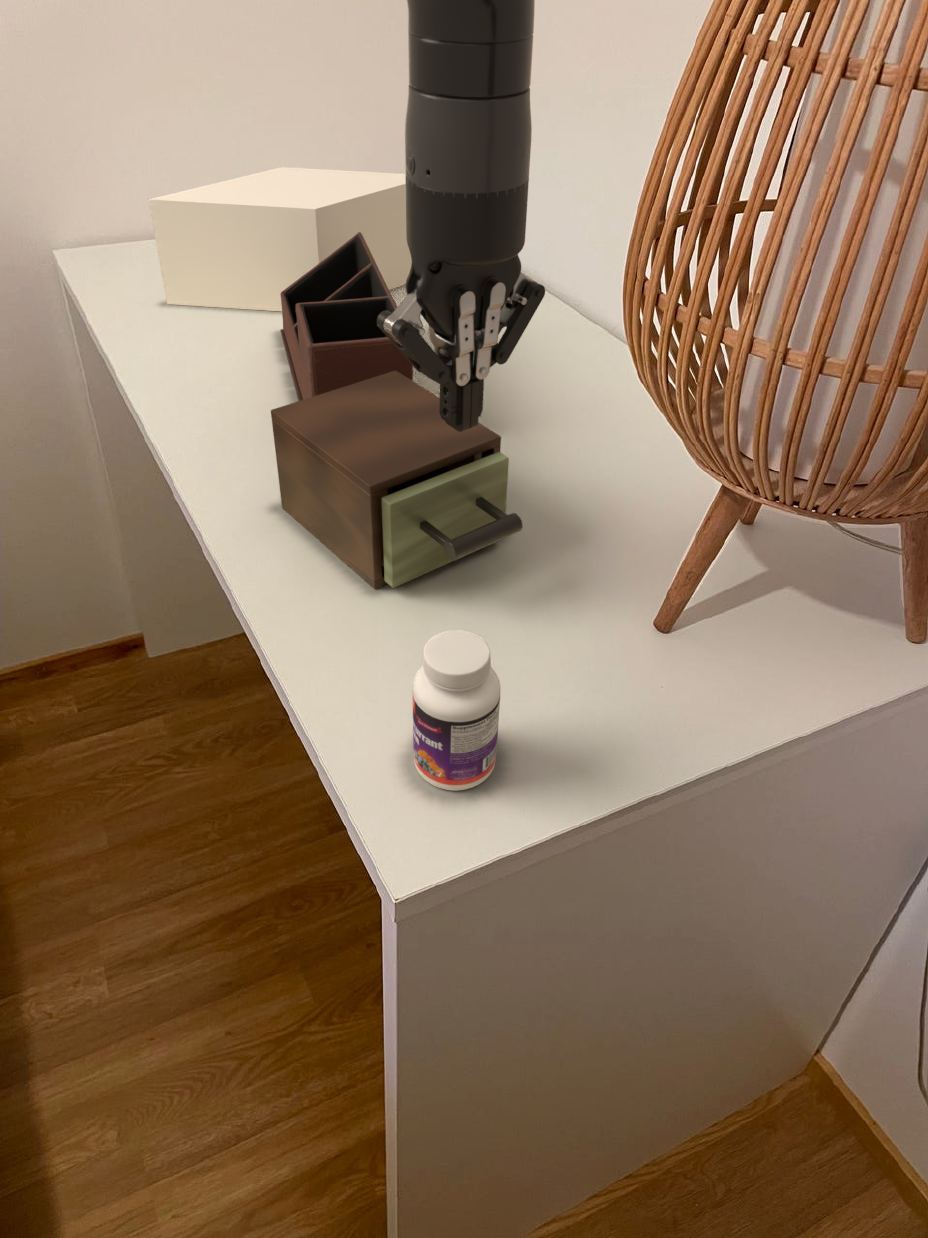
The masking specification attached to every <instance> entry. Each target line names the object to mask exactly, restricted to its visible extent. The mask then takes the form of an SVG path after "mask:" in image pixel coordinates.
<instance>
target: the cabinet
mask: <svg viewBox="0 0 928 1238" xmlns="http://www.w3.org/2000/svg"><path fill="white" fill-rule="evenodd" d="M439 409H440V396H437V395H436V394H434V393H432V392H431V391H429V390H428V389H426V388H424V387H423V386H421V385H420V384H418V383H416V382H415V381H414V380H413V381H412V380H410V379H409V378H407V377H405V376H404V375H402V374H401V373H399V372H397V371H392V372H389V373H386V374H383V375H380V376H377V377H373V378H370V379H367V380H364V381H361V382H358V383H354V384H351V385H348V386H345V387H342V388H339V389H336V390H332V391H329V392H326V393H323V394H320V395H317V396H313V397H310V398H307V399H304V400H301V401H298V400H297V401H295V402H291V403H288V404H285V405H282V406H279V407H276V408H272V409H270V415H271V416H270V417H271V425H272V433H273V442H274V450H275V451H274V452H275V459H276V469H277V476H278V485H279V493H280V503H281V509H283V511H285V512H286V513H287V514H288V515H290V516H291V517H292V518H293V519H294V520H295V521H296V522H297V523H299V524H300V526H302V527H303V528H304V529H305V530H307V531H308V532H309V533H310V534H311V535H312V536H314V538H316V540H318V542H320V543H321V544H322V545H324V547H326V548H327V549H328V550H329V551H330V552H332V553H333V554H334V555H335V556H336V557H337V558H338V559H340V560H341V561H342V562H343V563H344V564H345V565H346V566H347V567H348V568H349V569H351V570H352V571H353V572H354V573H355V574H357V575H358V576H359V578H360V577H361V579H362V580H364V581H365V583H367V584H368V585H369V586H370V587H372V589H374V590H377V589H379V588H382V587H384V586H386V585H389V584H388V583H386V582H385V578H384V566H382V558H381V533H380V508H379V493H378V492H381V491H383V490H386V489H388V488H391V487H394V486H396V485H399V484H401V483H404V482H406V481H409V480H412V479H414V478H417V477H419V476H422V475H425V474H427V473H430V472H432V471H435V470H437V469H440V468H443V467H445V466H448V465H450V464H453V463H456V462H458V461H461V460H463V459H466V458H468V457H471V456H474V455H476V454H479V453H481V452H482V458H484V457H487V456H490V455H492V454H495V453H497V452H501V450H502V449H501V445H502V436H501V435H499V434H498V433H496V432H495V431H494V430H491V429H490V428H489V427H487V426H485V425H483V424H482V423H480V422H479V421H478V425H477V426H475V427H472V428H469V429H467V430H464V431H461V432H459V431H457V430H455V429H454V428H452V427H451V426H449V425H448V424H447V423H446V422H445V420H443V419H442V418H441V416H440V413H439Z"/></svg>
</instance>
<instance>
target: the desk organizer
mask: <svg viewBox="0 0 928 1238" xmlns="http://www.w3.org/2000/svg"><path fill="white" fill-rule="evenodd" d="M281 304H282V311H281V315H282V329H281V328H280V329H279V331H280V334H281V338H282V342H283V347H284V350H285V354H286V358H287V363H288V367H289V370H290V374H291V378H292V382H293V386H294V389H295V393H296V397H297V398H296V399H297V402H298V401H301V400H304V399H307V398H310V397H313V396H317V395H320V394H323V393H326V392H329V391H332V390H336V389H339V388H342V387H345V386H348V385H351V384H354V383H358V382H361V381H364V380H367V379H370V378H373V377H377V376H380V375H383V374H386V373H389V372H392V371H397V372H399V373H401V374H402V375H404V376H405V377H407V378H409V379H410V380H412V381H413V382H414V367H413V366H412V364H411V363H410V362H409V361H408V360H407V359H406V358H405V357H404V355H403V354H402V353H401V352H400V351H399V350H398V349H397V347H396V346H395V345H394V344H393V343H392V342H391V341H390V340H389V338H388V337H387V336H386V335H385V334H384V333H383V332H382V330H381V329H380V328H379V327H378V325H377V317H378V315H379V314H380V313H381V312H382V311H385V310H386V311H389V312H391V313H393V312H394V311H395V309H396V308H397V307H398V305H397V303H396V301H395V300H394V297H393V295H392V293H391V290H389V289H388V287H387V285H386V283H385V281H384V279H383V277H382V275H381V273H380V271H379V269H378V267H377V264H376V262H375V260H374V258H373V256H372V254H371V252H370V250H369V248H368V246H367V244H366V242H365V239H364V237H363V236H362V234H361V232H358V233H357V234H356V235H355V236H354V237H352V238H351V239H350V240H348V241H347V242H346V243H345V244H343V245H342V246H341V247H340V248H338V249H337V250H336V251H335V252H333V253H332V254H331V255H329V256H328V257H327V258H325V259H324V260H323V261H321V262H320V263H319V264H318V265H316V266H315V267H314V268H313V269H311V270H310V271H309V272H307V273H306V274H304V275H303V276H302V277H300V278H299V279H298V280H297V281H295V282H294V283H293V284H291V285H290V286H289V287H287V288H286V289H285V290H283V291H282V292H281Z"/></svg>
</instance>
